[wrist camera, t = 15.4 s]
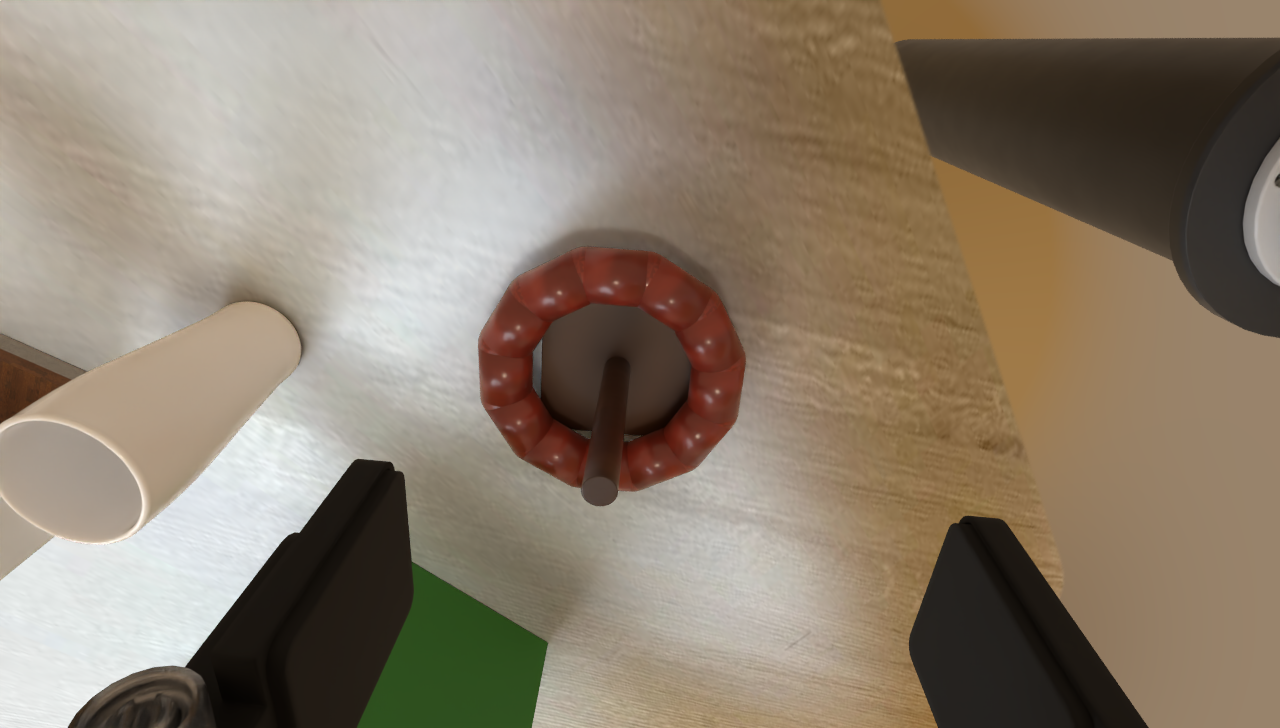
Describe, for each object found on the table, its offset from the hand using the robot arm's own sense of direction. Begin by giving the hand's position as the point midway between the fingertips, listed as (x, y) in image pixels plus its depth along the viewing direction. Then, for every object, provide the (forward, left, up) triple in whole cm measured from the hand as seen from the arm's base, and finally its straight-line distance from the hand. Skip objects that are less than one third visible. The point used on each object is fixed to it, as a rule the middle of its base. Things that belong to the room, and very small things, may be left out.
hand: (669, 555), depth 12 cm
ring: (+2, +10, -25) cm, 27 cm away
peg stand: (+2, +10, -28) cm, 30 cm away
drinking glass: (+24, +11, -28) cm, 39 cm away
